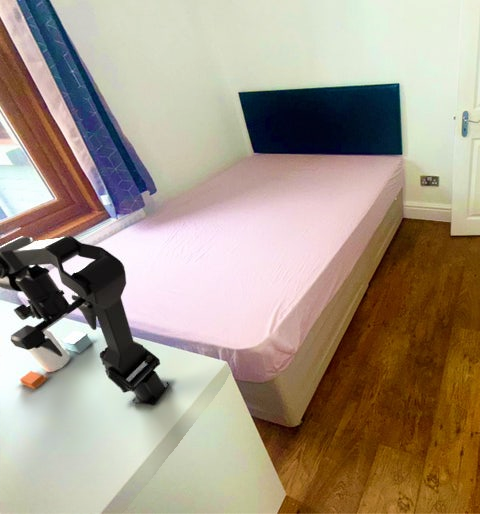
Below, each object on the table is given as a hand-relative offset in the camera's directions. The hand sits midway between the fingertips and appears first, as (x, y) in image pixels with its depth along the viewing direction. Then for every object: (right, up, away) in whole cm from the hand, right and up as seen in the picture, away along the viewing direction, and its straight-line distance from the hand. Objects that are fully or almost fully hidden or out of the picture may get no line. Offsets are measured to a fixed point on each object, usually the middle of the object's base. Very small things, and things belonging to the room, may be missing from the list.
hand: (78, 342), depth 88 cm
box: (-14, -6, +21) cm, 26 cm away
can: (-16, -10, +15) cm, 25 cm away
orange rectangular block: (-19, -14, +10) cm, 26 cm away
